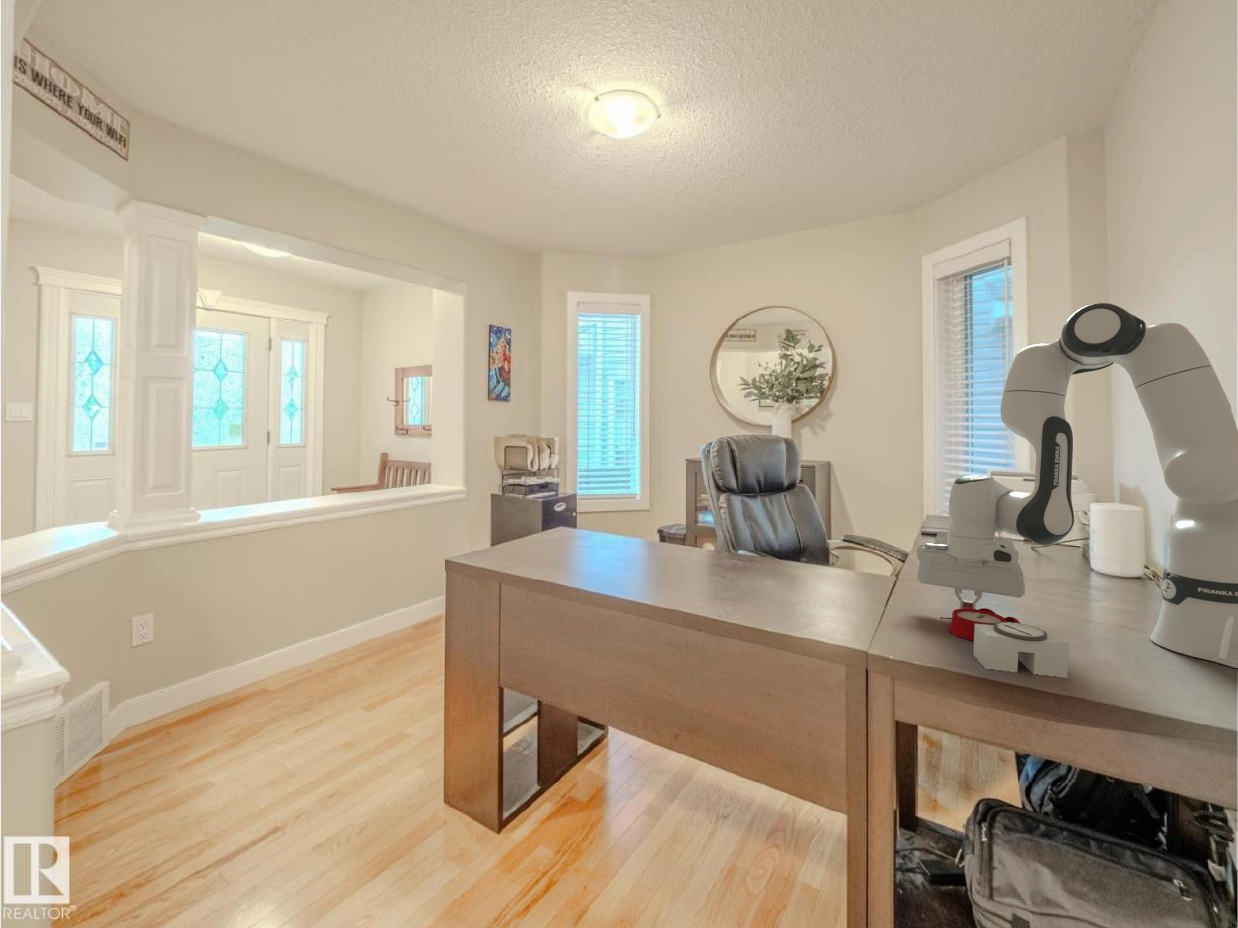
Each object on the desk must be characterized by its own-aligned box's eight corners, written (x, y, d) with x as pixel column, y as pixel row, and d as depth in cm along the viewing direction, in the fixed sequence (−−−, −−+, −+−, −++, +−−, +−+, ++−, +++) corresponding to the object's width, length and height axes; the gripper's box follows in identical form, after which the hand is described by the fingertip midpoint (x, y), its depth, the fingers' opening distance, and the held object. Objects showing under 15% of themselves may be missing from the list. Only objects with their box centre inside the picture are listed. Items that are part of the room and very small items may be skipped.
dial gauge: (1047, 661, 98) (1049, 624, 98) (1069, 679, 91) (1071, 640, 90) (971, 653, 101) (973, 617, 101) (987, 670, 94) (988, 632, 94)
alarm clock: (932, 612, 114) (986, 590, 118) (936, 639, 115) (990, 617, 119) (977, 629, 104) (1035, 605, 108) (982, 660, 105) (1039, 635, 109)
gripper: (915, 544, 124) (913, 603, 125) (1027, 557, 112) (1023, 622, 113) (919, 539, 129) (917, 597, 130) (1026, 551, 117) (1023, 614, 118)
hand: (967, 609), depth 121 cm, fingers closed
